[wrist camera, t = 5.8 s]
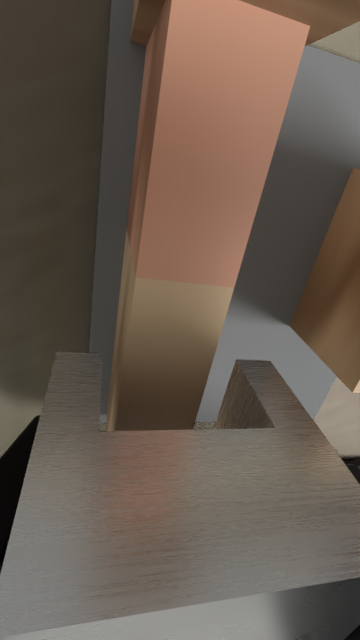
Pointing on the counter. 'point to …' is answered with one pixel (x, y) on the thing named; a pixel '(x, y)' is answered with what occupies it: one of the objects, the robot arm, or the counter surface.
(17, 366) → the counter surface
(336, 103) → the mat
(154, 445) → the rough concrete cube
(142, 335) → the block
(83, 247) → the counter surface
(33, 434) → the robot arm
